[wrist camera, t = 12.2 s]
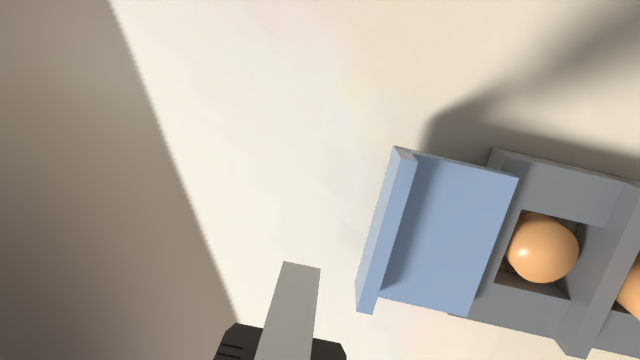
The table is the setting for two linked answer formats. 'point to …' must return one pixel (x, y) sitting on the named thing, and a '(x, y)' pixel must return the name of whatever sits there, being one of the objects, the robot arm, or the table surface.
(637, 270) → the pin
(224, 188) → the table surface
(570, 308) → the housing
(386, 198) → the lid
